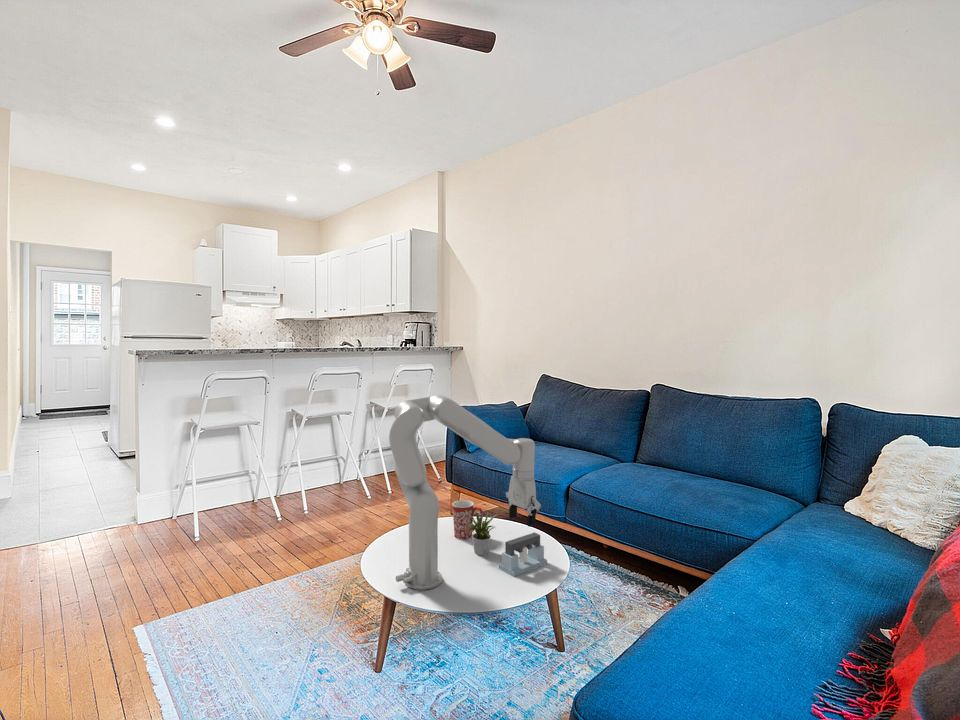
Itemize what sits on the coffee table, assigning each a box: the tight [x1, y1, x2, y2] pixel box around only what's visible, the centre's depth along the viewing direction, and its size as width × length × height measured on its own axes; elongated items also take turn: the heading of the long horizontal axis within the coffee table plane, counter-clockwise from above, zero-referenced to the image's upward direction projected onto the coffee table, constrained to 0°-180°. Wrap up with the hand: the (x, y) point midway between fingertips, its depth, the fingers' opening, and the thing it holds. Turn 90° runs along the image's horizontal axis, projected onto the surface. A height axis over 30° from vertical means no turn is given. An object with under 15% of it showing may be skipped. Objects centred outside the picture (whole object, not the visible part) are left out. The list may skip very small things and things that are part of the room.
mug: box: [451, 499, 484, 540], centre depth 205 cm, size 13×9×14 cm
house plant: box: [463, 510, 499, 556], centre depth 189 cm, size 14×14×16 cm
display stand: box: [498, 544, 548, 577], centre depth 178 cm, size 16×8×7 cm, turn 127°
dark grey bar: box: [504, 532, 541, 556], centre depth 178 cm, size 14×3×4 cm, turn 127°
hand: (522, 521), depth 177 cm, fingers open, 9 cm apart
